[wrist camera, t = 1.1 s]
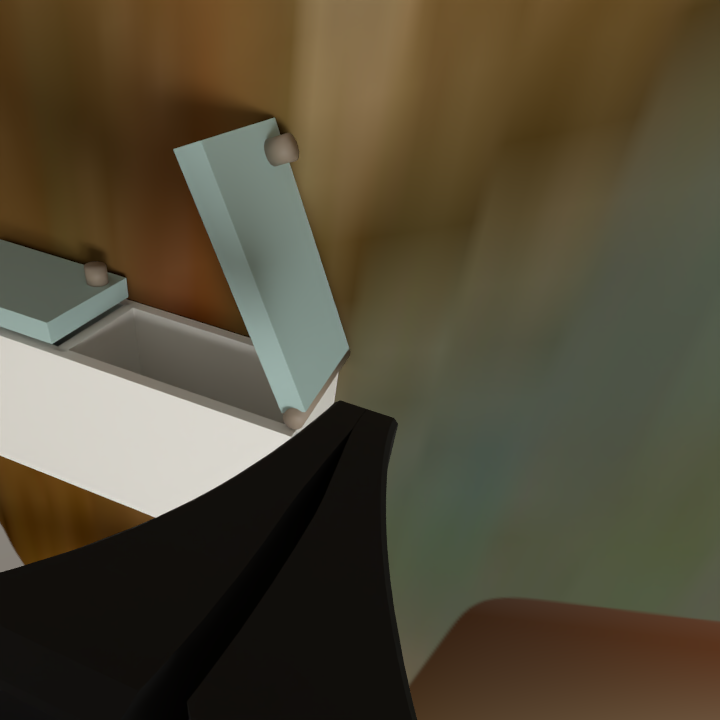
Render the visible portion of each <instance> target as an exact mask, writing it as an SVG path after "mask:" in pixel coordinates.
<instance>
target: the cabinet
mask: <svg viewBox="0 0 720 720" xmlns="http://www.w3.org/2000/svg"><path fill="white" fill-rule="evenodd" d="M126 298H128V289H127V281H126V278H125V277H122V276H119V275H115V274H112V273H109V272H107V266H106V264H105V263H103V262H99V261H94V262H88V263H86V264H85V265H83V264H79V263H76V262H73V261H70V260H66V259H63V258H60V257H56V256H53V255H50V254H47V253H43V252H40V251H37V250H34V249H30V248H27V247H24V246H21V245H17V244H14V243H11V242H7V241H4V240H1V239H0V456H3V457H5V458H8V459H10V460H13V461H15V462H18V463H20V464H23V465H25V466H28V467H30V468H33V469H35V470H38V471H40V472H43V473H45V474H48V475H50V476H53V477H55V478H58V479H60V480H63V481H65V482H68V483H70V484H73V485H75V486H78V487H80V488H83V489H86V490H88V491H91V492H93V493H96V494H98V495H101V496H103V497H106V498H108V499H111V500H113V501H116V502H118V503H121V504H123V505H126V506H128V507H131V508H133V509H136V510H138V511H141V512H143V513H146V514H148V515H151V516H153V517H158V516H160V515H162V514H164V513H167V512H169V511H171V510H173V509H175V508H177V507H179V506H181V505H183V504H185V503H187V502H189V501H191V500H193V499H195V498H197V497H199V496H201V495H203V494H205V493H206V492H208V491H210V490H212V489H214V488H215V487H217V486H219V485H221V484H223V483H224V482H226V481H228V480H229V479H231V478H233V477H234V476H236V475H238V474H239V473H241V472H242V471H244V470H245V469H247V468H248V467H250V466H251V465H253V464H255V463H256V462H258V461H259V460H261V459H262V458H264V457H265V456H267V455H268V454H270V453H271V452H273V451H274V450H275V449H277V448H278V447H279V446H281V445H282V444H284V443H285V442H286V441H288V440H289V439H290V438H292V437H293V436H295V435H296V434H297V433H299V432H300V431H301V430H302V429H304V428H305V427H306V426H307V425H309V424H310V423H311V422H312V421H314V420H315V419H316V418H317V417H319V416H320V415H321V414H322V413H323V412H325V411H326V410H327V409H328V408H329V407H330V406H331V405H333V404H334V399H335V393H336V386H337V379H338V374H337V375H336V377H335V378H334V380H333V381H332V383H331V384H330V386H329V387H328V389H327V390H326V392H325V393H324V395H323V396H322V398H321V399H320V401H319V402H318V404H317V405H316V407H315V408H314V410H313V411H312V413H311V414H310V416H309V417H308V419H307V420H306V422H305V423H304V425H303V426H302V428H300V429H292V428H289V427H288V426H287V425H286V424H285V423H284V421H283V414H284V413H281V411H280V408H279V406H278V403H277V401H276V398H275V396H274V394H273V391H272V389H271V386H270V384H269V381H268V379H267V377H266V374H265V372H264V369H263V367H262V364H261V362H260V359H259V357H258V355H257V352H256V350H255V347H254V345H253V342H252V340H251V338H249V337H246V336H242V335H239V334H236V333H233V332H230V331H227V330H223V329H220V328H217V327H214V326H211V325H207V324H204V323H201V322H198V321H195V320H192V319H188V318H185V317H182V316H179V315H176V314H172V313H169V312H166V311H163V310H160V309H157V308H153V307H150V306H147V305H144V304H141V303H137V302H134V301H131V300H128V299H126Z"/></svg>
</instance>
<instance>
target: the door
mask: <svg viewBox="0 0 720 720" xmlns="http://www.w3.org/2000/svg"><path fill="white" fill-rule="evenodd" d="M173 150H174V153H175V155H176V158H177V160H178V162H179V165H180V167H181V170H182V172H183V175H184V177H185V179H186V182H187V184H188V187H189V189H190V192H191V194H192V196H193V199H194V201H195V204H196V206H197V209H198V211H199V214H200V216H201V218H202V221H203V223H204V226H205V228H206V231H207V233H208V235H209V238H210V240H211V243H212V245H213V248H214V250H215V252H216V255H217V257H218V260H219V262H220V265H221V267H222V269H223V272H224V274H225V277H226V279H227V282H228V284H229V287H230V289H231V291H232V294H233V296H234V299H235V301H236V304H237V306H238V308H239V311H240V313H241V316H242V318H243V321H244V323H245V325H246V328H247V330H248V333H249V335H250V338H251V340H252V342H253V345H254V347H255V350H256V352H257V355H258V357H259V359H260V362H261V364H262V367H263V369H264V372H265V374H266V377H267V379H268V381H269V384H270V386H271V389H272V391H273V394H274V396H275V398H276V401H277V403H278V406H279V408H280V411H281V413H284V414H283V421H284V423H285V424H286V425H287V426H288V427H289V428H292V429H300V428H302V426H303V425H304V423H305V422H306V420H307V419H308V417H309V416H310V414H311V413H312V411H313V410H314V408H315V407H316V405H317V404H318V402H319V401H320V399H321V398H322V396H323V395H324V393H325V392H326V390H327V389H328V387H329V386H330V384H331V383H332V381H333V380H334V378H335V377H336V375H337V374H338V372H339V371H340V369H341V368H342V366H343V365H344V363H345V362H346V360H347V359H348V357H349V356H350V349H349V346H348V343H347V340H346V337H345V334H344V331H343V328H342V324H341V321H340V318H339V315H338V312H337V309H336V306H335V303H334V300H333V297H332V293H331V290H330V287H329V284H328V281H327V278H326V275H325V272H324V269H323V265H322V262H321V259H320V256H319V253H318V250H317V247H316V244H315V241H314V238H313V234H312V231H311V228H310V225H309V222H308V219H307V216H306V213H305V210H304V207H303V203H302V200H301V197H300V194H299V191H298V188H297V185H296V182H295V179H294V175H293V172H292V169H291V166H290V162H294V161H297V160H298V157H299V149H298V145H297V142H296V140H295V138H294V136H293V135H292V134H291V133H285V134H282V135H280V132H279V129H278V126H277V123H276V120H275V117H274V118H271V119H268V120H265V121H262V122H258V123H255V124H252V125H249V126H246V127H242V128H239V129H236V130H233V131H230V132H226V133H223V134H220V135H217V136H214V137H210V138H207V139H204V140H201V141H198V142H194V143H191V144H188V145H185V146H182V147H179V148H176V149H173Z"/></svg>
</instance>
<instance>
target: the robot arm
mask: <svg viewBox="0 0 720 720" xmlns="http://www.w3.org/2000/svg"><path fill="white" fill-rule="evenodd" d="M397 426H398V423H397V422H396V420H395V419H394V418H392V417H389V416H386V415H383V414H380V413H377V412H374V411H371V410H368V409H367V410H366V409H365V408H362V407H358V406H355V405H352V404H349V403H346V402H343V401H338V402H335V403H334V404H333V405H331V406H330V407H329V408H328V409H327V410H326V411H325V412H323V413H322V414H321V415H320V416H319V417H317V418H316V419H315V420H314V421H312V422H311V423H310V424H309V425H307V426H306V427H305V428H304V429H302V430H301V431H300V432H299V433H297V434H296V435H295V436H293V437H292V438H290V439H289V440H288V441H286V442H285V443H284V444H282V445H281V446H279V447H278V448H277V449H275V450H274V451H273V452H271V453H270V454H268V455H267V456H265V457H264V458H262V459H261V460H259V461H258V462H256V463H255V464H253V465H251V466H250V467H248V468H247V469H245V470H244V471H242V472H241V473H239V474H238V475H236V476H234V477H233V478H231V479H229V480H228V481H226V482H224V483H223V484H221V485H219V486H217V487H215V488H214V489H212V490H210V491H208V492H206V493H205V494H203V495H201V496H199V497H197V498H195V499H193V500H191V501H189V502H187V503H185V504H183V505H181V506H179V507H177V508H175V509H173V510H171V511H169V512H167V513H164V514H162V515H160V516H158V517H156V518H154V519H151V520H149V521H147V522H145V523H142V524H140V525H138V526H135V527H133V528H130V529H128V530H125V531H123V532H120V533H117V534H115V535H112V536H110V537H107V538H104V539H102V540H99V541H97V542H94V543H92V544H89V545H86V546H84V547H81V548H78V549H75V550H72V551H69V552H66V553H63V554H60V555H57V556H53V557H50V558H47V559H44V560H40V561H37V562H34V563H31V564H28V565H24V566H21V567H18V568H15V569H11V570H8V571H4V572H0V720H417V717H416V713H415V710H414V706H413V702H412V698H411V693H410V688H409V684H408V679H407V675H406V671H405V666H404V661H403V656H402V650H401V645H400V639H399V634H398V628H397V623H396V617H395V612H394V605H393V597H392V590H391V582H390V573H389V563H388V551H387V535H386V484H387V468H388V463H389V459H390V455H391V451H392V447H393V443H394V439H395V434H396V430H397Z"/></svg>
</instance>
